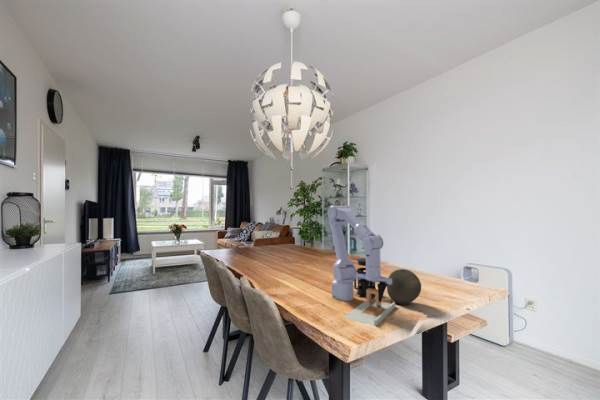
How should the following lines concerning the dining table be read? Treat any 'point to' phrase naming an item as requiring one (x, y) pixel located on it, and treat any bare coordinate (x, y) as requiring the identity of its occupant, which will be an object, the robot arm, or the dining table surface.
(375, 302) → the hook arm
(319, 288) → the dining table surface
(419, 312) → the dining table surface
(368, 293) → the peach u-shaped bracket
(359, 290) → the french press
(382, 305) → the grey base plate
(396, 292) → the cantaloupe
